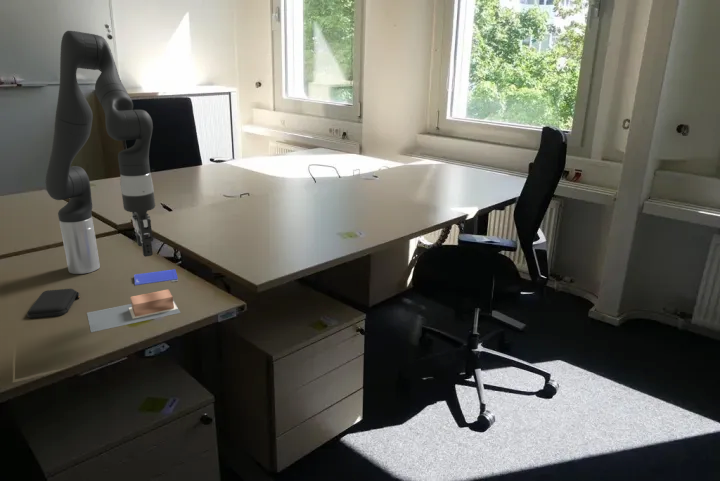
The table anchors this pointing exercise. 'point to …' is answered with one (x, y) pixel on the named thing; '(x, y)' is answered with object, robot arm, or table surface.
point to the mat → (122, 317)
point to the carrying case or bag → (53, 303)
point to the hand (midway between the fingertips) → (145, 250)
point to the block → (152, 302)
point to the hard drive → (156, 277)
